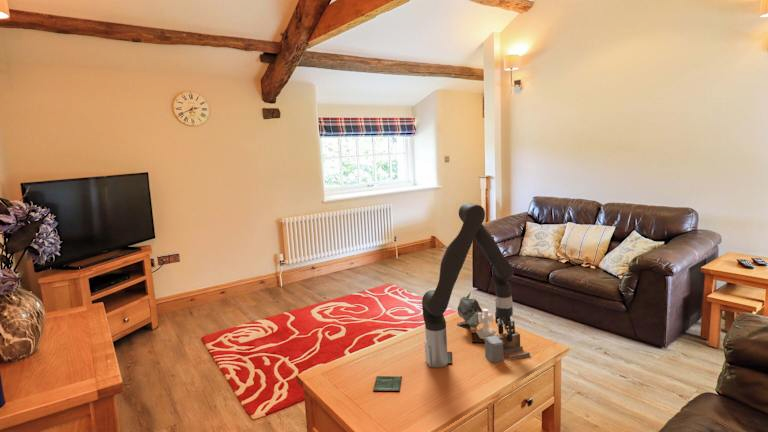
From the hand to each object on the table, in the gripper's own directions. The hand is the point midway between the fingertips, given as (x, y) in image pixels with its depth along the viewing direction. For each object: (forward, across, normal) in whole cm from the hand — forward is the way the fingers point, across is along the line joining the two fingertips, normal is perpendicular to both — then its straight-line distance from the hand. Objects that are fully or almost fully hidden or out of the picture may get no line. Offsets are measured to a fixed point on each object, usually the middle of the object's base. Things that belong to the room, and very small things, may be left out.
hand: (505, 337), depth 200 cm
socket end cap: (+6, +6, -9) cm, 13 cm away
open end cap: (+6, +6, +2) cm, 9 cm away
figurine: (+6, -14, -4) cm, 15 cm away
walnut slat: (+6, 0, 0) cm, 6 cm away
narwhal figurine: (+6, -26, -6) cm, 27 cm away
